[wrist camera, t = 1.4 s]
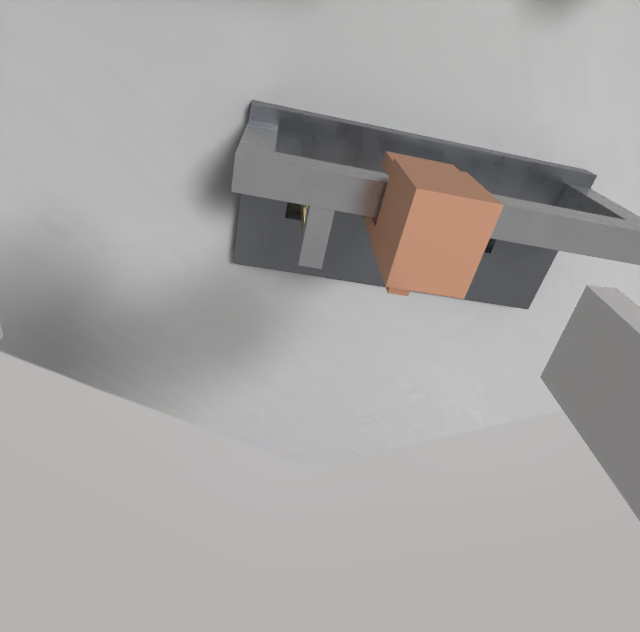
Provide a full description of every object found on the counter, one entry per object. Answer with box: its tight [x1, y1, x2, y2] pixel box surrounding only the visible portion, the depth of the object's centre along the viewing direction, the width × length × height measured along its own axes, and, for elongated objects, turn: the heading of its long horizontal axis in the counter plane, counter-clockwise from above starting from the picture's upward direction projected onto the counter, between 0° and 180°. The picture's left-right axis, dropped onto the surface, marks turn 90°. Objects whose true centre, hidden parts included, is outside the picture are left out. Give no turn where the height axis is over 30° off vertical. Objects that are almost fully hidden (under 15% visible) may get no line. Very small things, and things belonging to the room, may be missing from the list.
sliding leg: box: [364, 151, 504, 299], centre depth 28 cm, size 4×7×15 cm, turn 168°
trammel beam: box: [231, 119, 640, 269], centre depth 32 cm, size 26×6×11 cm, turn 78°
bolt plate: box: [233, 100, 597, 309], centre depth 37 cm, size 26×12×2 cm, turn 78°
